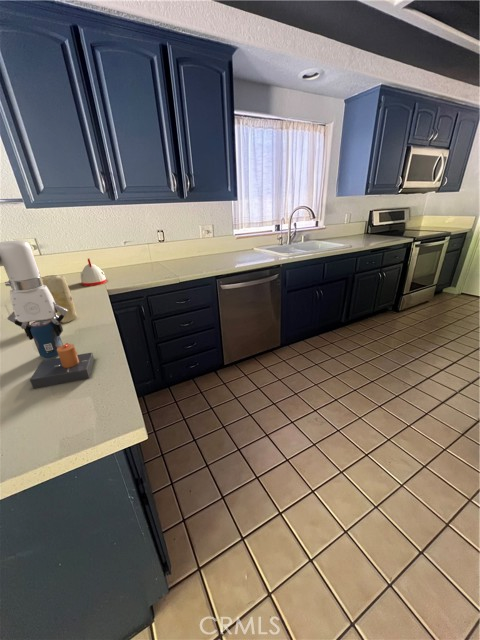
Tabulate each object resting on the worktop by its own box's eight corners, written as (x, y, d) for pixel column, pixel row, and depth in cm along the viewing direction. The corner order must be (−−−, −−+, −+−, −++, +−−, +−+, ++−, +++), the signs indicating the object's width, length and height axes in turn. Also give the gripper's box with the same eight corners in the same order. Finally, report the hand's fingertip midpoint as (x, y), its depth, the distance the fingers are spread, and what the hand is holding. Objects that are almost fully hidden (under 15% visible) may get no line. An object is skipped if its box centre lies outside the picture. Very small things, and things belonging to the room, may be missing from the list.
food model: (78, 315, 119) (65, 272, 111) (77, 321, 114) (64, 276, 106) (52, 320, 115) (37, 275, 107) (51, 326, 110) (34, 279, 102)
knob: (77, 366, 77) (71, 349, 75) (60, 368, 76) (54, 351, 74) (80, 358, 81) (75, 341, 79) (64, 361, 80) (58, 344, 78)
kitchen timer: (104, 278, 177) (99, 255, 170) (108, 283, 166) (102, 259, 160) (81, 281, 170) (75, 258, 164) (83, 287, 159) (76, 262, 153)
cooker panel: (33, 388, 73) (29, 379, 72) (44, 368, 82) (41, 360, 80) (89, 378, 77) (86, 369, 76) (94, 360, 86) (92, 351, 84)
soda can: (41, 352, 91) (29, 320, 86) (65, 347, 94) (54, 316, 89) (39, 362, 85) (26, 328, 80) (64, 356, 88) (53, 323, 83)
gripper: (-15, 290, 74) (10, 346, 81) (57, 283, 78) (73, 336, 86) (-2, 283, 80) (19, 335, 87) (63, 277, 85) (78, 327, 92)
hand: (46, 335), depth 87 cm, fingers closed on soda can, 7 cm apart
